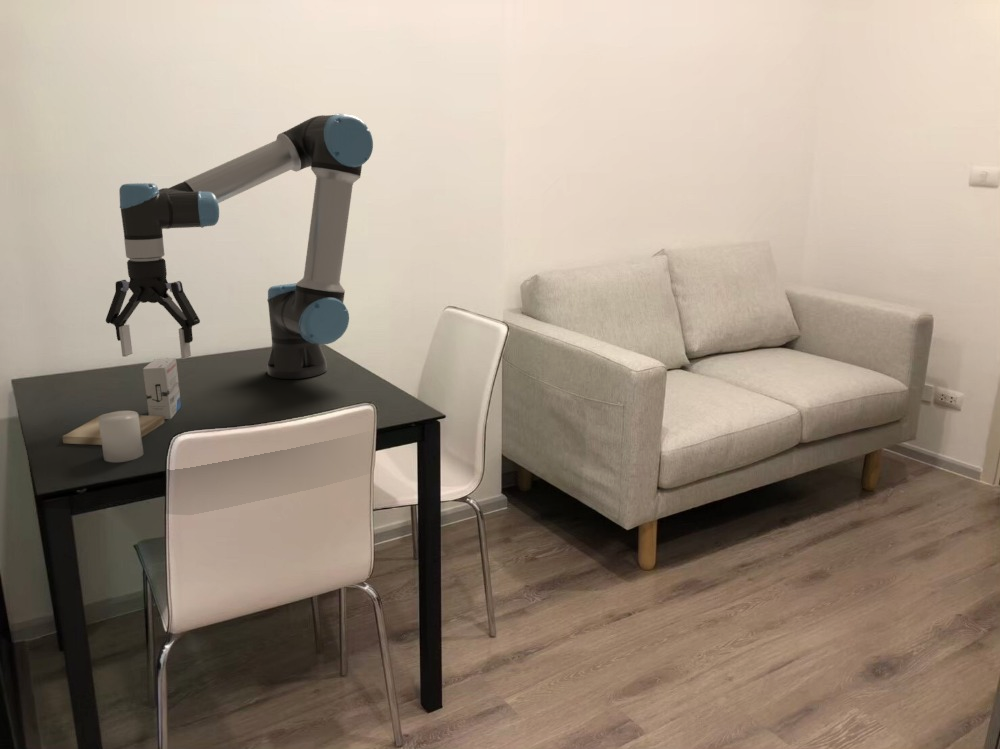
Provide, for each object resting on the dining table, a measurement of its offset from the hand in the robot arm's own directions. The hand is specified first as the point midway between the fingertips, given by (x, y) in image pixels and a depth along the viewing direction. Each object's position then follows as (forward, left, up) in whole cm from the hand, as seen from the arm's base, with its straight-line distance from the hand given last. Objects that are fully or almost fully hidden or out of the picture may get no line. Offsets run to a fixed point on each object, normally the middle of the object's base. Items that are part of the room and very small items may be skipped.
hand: (156, 356), depth 181 cm
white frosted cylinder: (-5, +25, -13) cm, 29 cm away
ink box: (0, 0, -13) cm, 13 cm away
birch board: (+4, +13, -13) cm, 19 cm away
